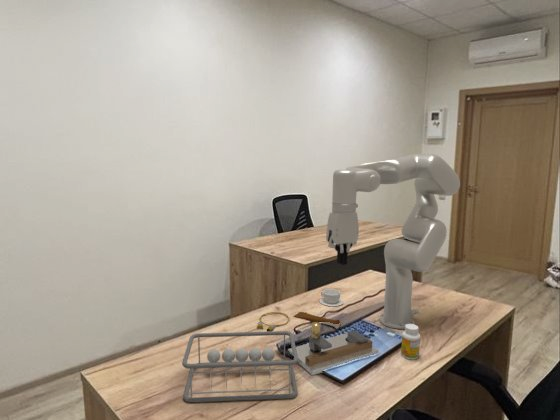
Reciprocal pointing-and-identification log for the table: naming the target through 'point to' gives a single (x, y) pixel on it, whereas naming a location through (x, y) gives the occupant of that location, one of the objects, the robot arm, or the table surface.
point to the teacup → (331, 297)
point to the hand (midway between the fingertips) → (342, 263)
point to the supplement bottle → (410, 342)
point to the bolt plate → (331, 362)
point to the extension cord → (271, 327)
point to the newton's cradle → (241, 356)
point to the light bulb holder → (318, 338)
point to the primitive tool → (314, 318)
